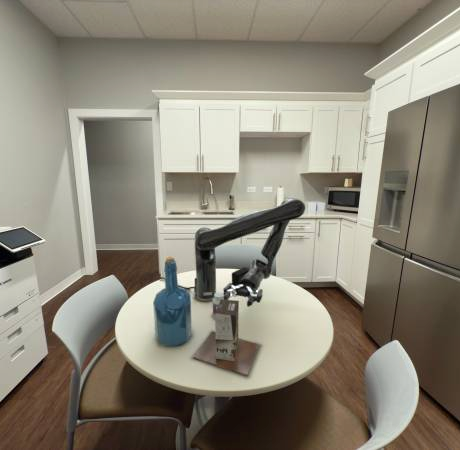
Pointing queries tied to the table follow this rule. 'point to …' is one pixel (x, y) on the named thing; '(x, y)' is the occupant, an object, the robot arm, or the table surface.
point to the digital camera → (238, 275)
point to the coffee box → (227, 329)
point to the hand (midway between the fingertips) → (236, 301)
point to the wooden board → (240, 365)
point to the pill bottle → (217, 301)
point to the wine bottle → (172, 309)
